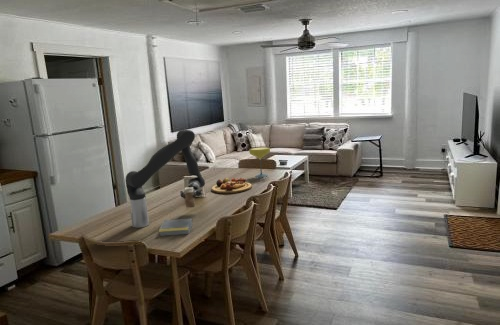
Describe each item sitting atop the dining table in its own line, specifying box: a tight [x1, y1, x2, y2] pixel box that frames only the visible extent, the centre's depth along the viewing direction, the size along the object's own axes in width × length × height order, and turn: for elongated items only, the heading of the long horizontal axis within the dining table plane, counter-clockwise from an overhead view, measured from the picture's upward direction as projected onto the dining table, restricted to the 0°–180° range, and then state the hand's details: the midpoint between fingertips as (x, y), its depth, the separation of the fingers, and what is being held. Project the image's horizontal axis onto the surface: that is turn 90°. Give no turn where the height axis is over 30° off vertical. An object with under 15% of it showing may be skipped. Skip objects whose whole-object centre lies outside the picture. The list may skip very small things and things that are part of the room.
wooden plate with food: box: [211, 177, 253, 194], centre depth 299 cm, size 32×32×8 cm
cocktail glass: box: [248, 146, 271, 178], centre depth 332 cm, size 18×18×25 cm
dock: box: [158, 218, 193, 237], centre depth 216 cm, size 16×15×4 cm
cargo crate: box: [183, 186, 196, 209], centre depth 221 cm, size 4×4×11 cm
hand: (188, 196), depth 218 cm, fingers closed on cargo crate, 4 cm apart
